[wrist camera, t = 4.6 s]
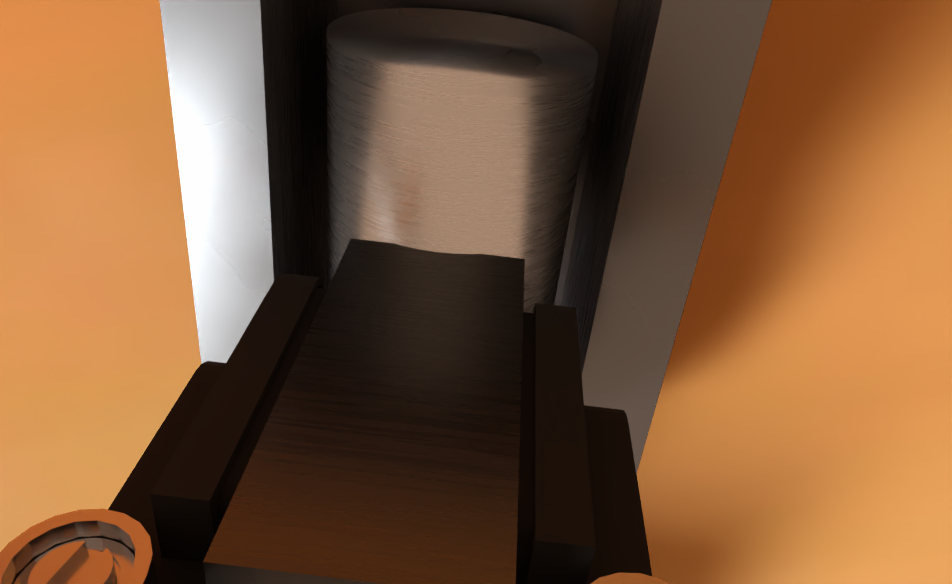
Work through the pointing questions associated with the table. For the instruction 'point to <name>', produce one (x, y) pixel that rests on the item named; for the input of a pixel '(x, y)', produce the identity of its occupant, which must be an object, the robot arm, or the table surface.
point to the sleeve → (597, 187)
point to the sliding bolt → (418, 306)
